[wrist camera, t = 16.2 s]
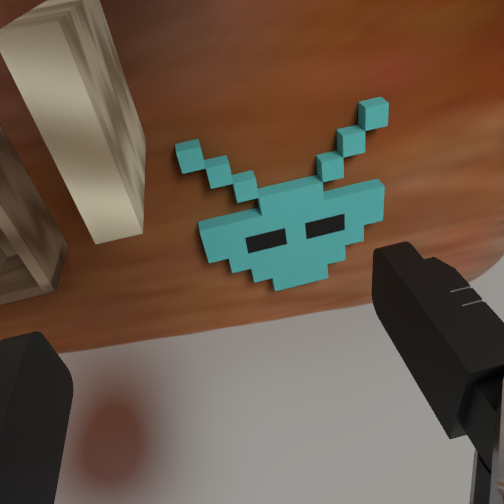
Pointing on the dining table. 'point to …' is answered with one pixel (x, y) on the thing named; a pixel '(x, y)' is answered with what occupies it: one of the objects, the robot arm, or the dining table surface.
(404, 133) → the dining table surface
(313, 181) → the alien figure
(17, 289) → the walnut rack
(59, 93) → the birch panel
